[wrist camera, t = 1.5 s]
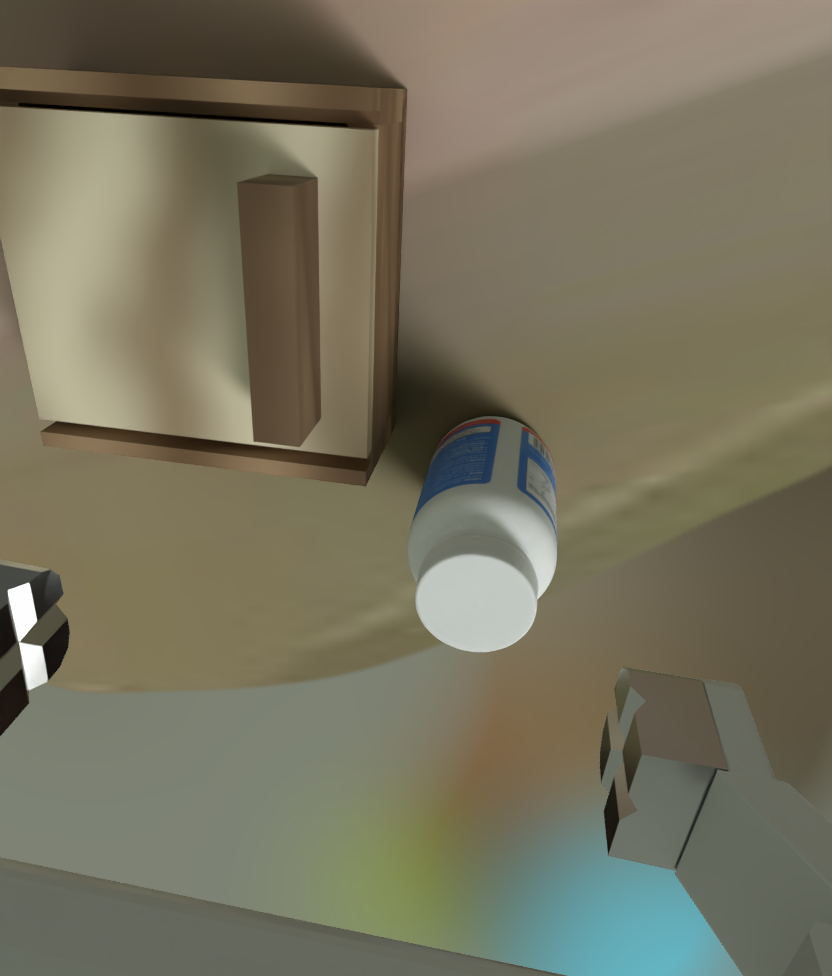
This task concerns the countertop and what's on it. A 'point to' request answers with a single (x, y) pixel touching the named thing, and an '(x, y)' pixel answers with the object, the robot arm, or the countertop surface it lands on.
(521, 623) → the pill bottle
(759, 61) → the countertop surface
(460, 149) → the countertop surface
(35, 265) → the lid
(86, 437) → the lid box
